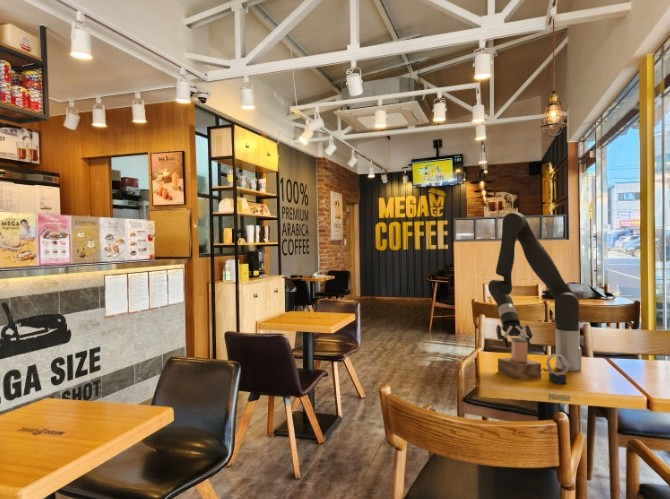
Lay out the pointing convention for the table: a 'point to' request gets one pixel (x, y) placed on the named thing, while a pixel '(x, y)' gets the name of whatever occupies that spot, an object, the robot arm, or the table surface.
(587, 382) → the table surface
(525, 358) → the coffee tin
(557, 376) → the watch
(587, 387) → the table surface
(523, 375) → the walnut block
